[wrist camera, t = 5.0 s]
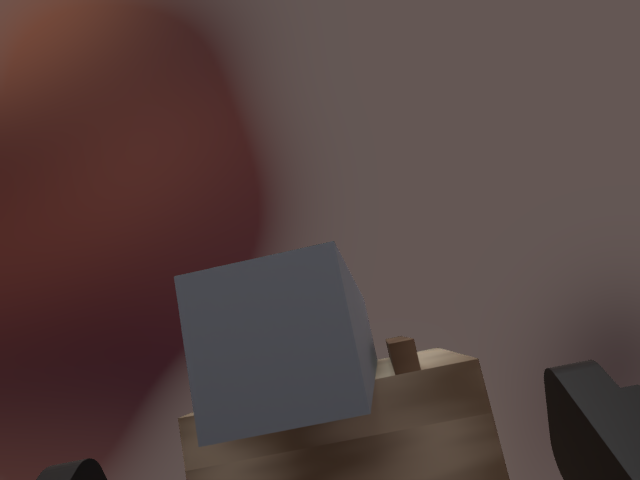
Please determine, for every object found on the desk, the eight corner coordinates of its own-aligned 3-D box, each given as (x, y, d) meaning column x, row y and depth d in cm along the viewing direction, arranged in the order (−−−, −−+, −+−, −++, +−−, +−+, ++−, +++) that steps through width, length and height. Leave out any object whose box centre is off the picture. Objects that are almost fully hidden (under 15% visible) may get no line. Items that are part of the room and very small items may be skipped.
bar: (198, 447, 12) (174, 276, 12) (316, 372, 33) (304, 311, 33) (370, 413, 11) (333, 241, 12) (377, 360, 32) (363, 299, 33)
